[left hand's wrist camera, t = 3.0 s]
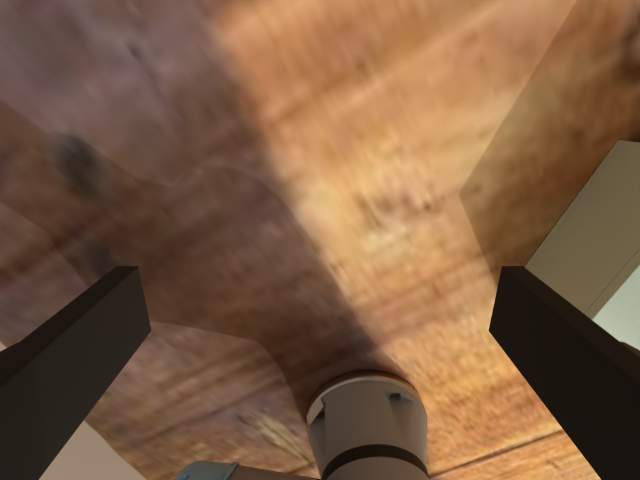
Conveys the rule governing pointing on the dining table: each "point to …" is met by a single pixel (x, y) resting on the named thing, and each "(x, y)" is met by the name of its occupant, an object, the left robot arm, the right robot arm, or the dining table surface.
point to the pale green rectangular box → (600, 247)
